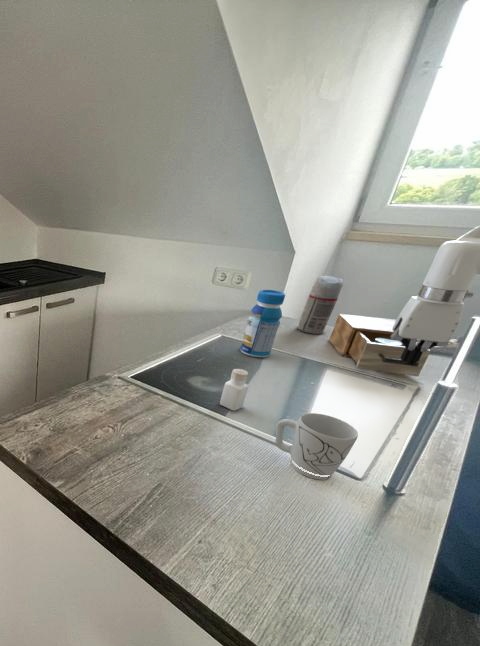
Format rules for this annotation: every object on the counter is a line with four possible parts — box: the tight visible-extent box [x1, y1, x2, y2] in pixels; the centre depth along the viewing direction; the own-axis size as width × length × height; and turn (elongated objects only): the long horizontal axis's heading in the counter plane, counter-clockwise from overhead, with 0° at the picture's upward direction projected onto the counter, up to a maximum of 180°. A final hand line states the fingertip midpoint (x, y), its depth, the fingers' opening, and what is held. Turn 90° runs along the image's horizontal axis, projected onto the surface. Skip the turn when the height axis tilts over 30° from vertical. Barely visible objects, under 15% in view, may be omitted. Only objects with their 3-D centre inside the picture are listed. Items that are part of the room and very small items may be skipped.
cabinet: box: [329, 313, 397, 358], centre depth 123 cm, size 15×15×10 cm
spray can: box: [296, 274, 344, 335], centre depth 139 cm, size 8×8×20 cm
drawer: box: [347, 330, 432, 377], centre depth 112 cm, size 18×13×8 cm
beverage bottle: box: [240, 289, 286, 358], centre depth 120 cm, size 8×8×20 cm
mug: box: [274, 412, 359, 481], centre depth 73 cm, size 11×8×10 cm
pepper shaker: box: [219, 368, 249, 411], centre depth 93 cm, size 4×4×10 cm
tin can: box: [374, 338, 402, 346], centre depth 113 cm, size 6×6×6 cm
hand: (407, 363), depth 101 cm, fingers closed
